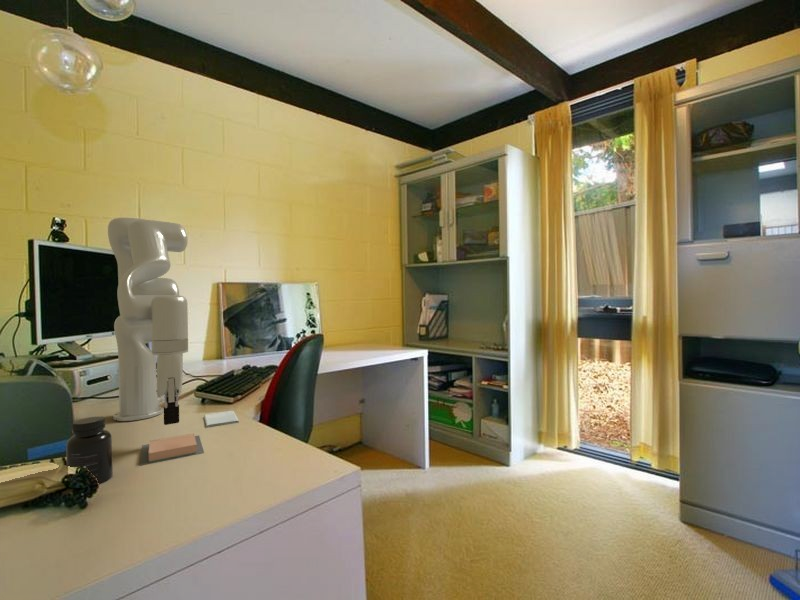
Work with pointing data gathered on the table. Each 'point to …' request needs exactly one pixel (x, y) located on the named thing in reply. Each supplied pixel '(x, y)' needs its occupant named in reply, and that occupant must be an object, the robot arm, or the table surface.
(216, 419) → the hard drive
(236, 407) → the table surface
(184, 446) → the tile
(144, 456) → the mat
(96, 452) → the supplement bottle
